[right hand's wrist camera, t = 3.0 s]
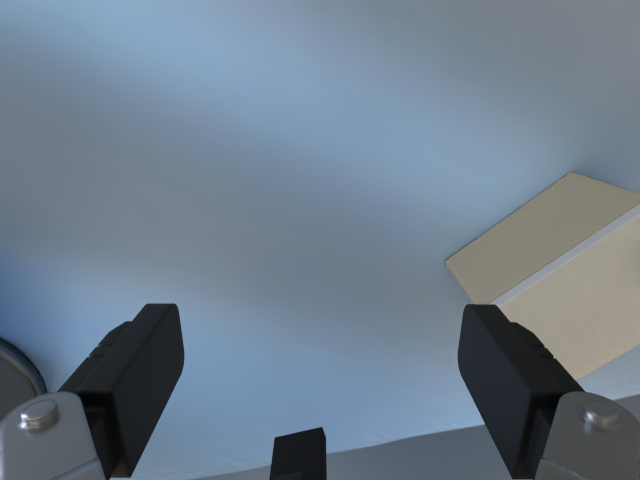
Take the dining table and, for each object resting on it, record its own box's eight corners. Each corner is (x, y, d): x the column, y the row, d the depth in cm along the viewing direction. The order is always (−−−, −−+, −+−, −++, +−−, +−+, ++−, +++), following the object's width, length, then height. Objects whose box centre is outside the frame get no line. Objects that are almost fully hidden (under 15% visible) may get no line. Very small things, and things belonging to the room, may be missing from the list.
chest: (570, 171, 36) (648, 196, 28) (619, 248, 39) (704, 293, 30) (443, 261, 40) (478, 309, 31) (496, 327, 42) (542, 388, 33)
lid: (661, 188, 28) (797, 226, 20) (716, 286, 30) (856, 355, 22) (478, 310, 31) (533, 384, 23) (542, 389, 33) (611, 481, 26)
